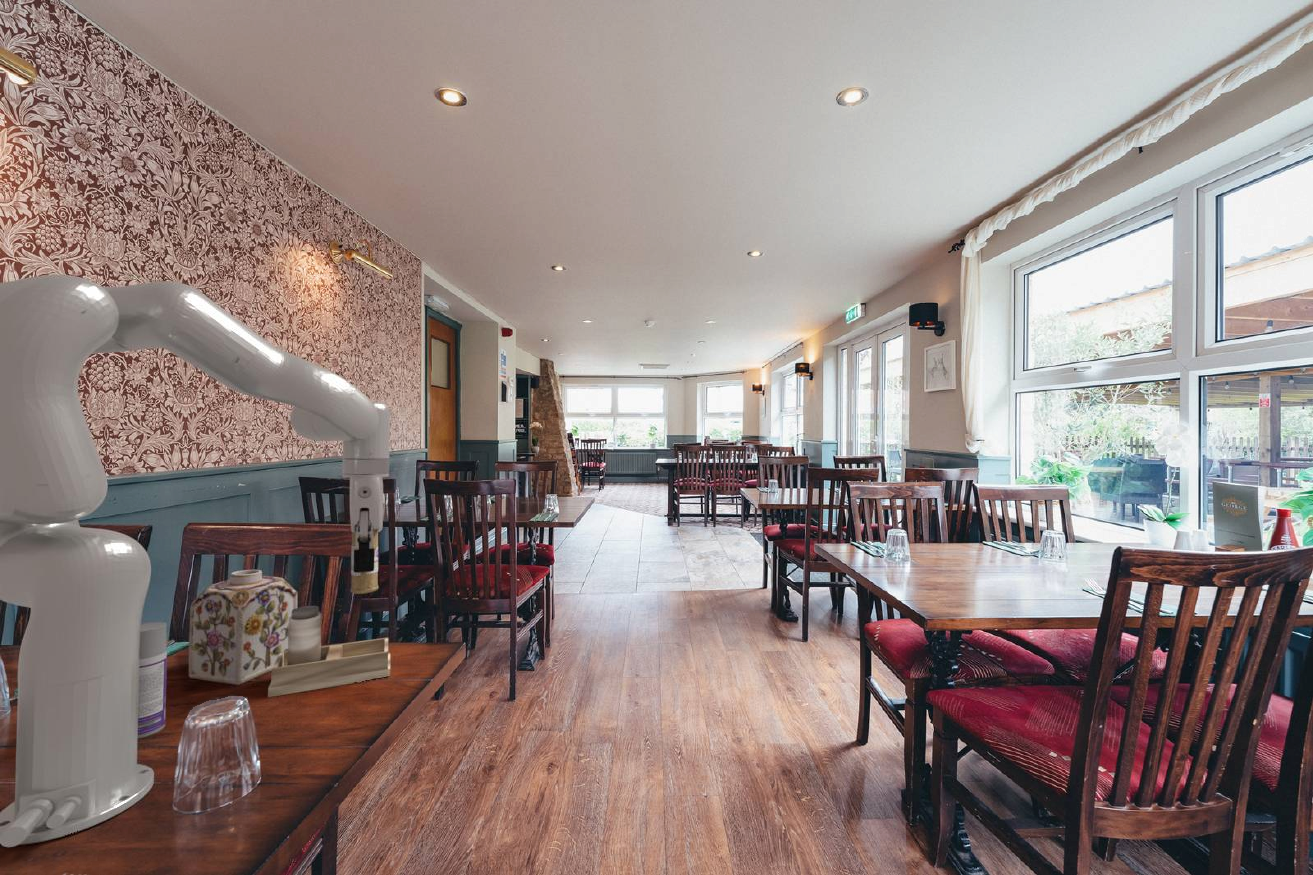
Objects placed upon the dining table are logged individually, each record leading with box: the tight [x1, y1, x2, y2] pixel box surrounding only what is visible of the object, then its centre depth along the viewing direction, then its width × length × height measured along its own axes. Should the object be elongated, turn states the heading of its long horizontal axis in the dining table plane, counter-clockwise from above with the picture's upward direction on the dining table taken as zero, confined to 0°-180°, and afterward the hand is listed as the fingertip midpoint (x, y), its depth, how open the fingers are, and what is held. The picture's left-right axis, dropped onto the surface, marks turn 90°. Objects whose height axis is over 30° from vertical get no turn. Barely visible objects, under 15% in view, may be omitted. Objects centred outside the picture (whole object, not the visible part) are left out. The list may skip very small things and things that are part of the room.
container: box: [137, 621, 168, 740], centre depth 78 cm, size 5×5×15 cm
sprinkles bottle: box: [350, 516, 379, 595], centre depth 98 cm, size 5×5×14 cm
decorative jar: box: [188, 569, 298, 686], centre depth 99 cm, size 12×12×18 cm
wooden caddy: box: [267, 605, 391, 698], centre depth 96 cm, size 8×18×13 cm, turn 116°
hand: (364, 567), depth 98 cm, fingers closed on sprinkles bottle, 4 cm apart
